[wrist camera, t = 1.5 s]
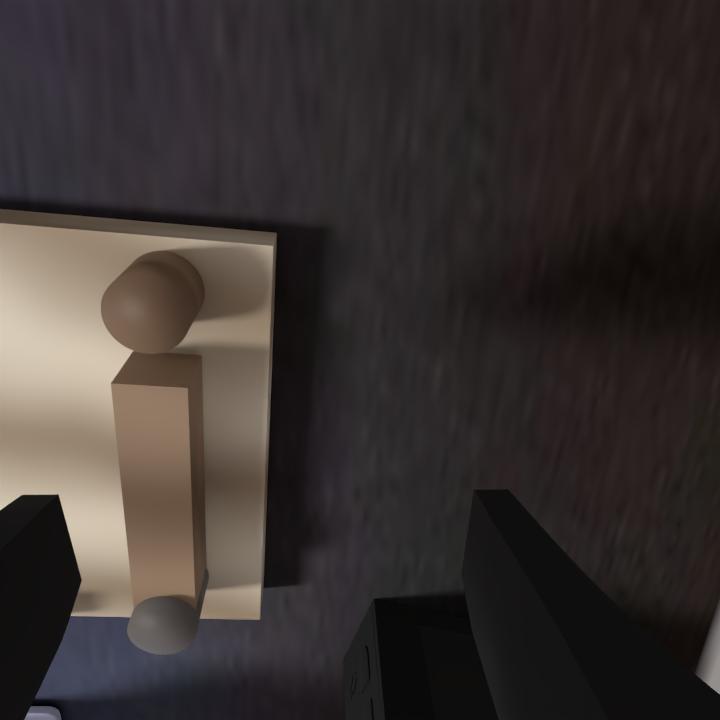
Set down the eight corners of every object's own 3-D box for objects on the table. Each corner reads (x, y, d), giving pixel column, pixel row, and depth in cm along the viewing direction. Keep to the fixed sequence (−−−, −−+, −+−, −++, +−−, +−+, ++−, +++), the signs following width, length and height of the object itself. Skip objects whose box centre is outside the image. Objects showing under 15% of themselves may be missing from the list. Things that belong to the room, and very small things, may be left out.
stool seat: (263, 589, 24) (254, 666, 21) (-152, 578, 22) (-229, 660, 19) (276, 232, 17) (266, 267, 14) (-310, 182, 16) (-468, 208, 13)
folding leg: (209, 595, 22) (196, 655, 19) (150, 593, 21) (129, 654, 19) (204, 355, 17) (187, 397, 15) (129, 350, 17) (100, 392, 15)
